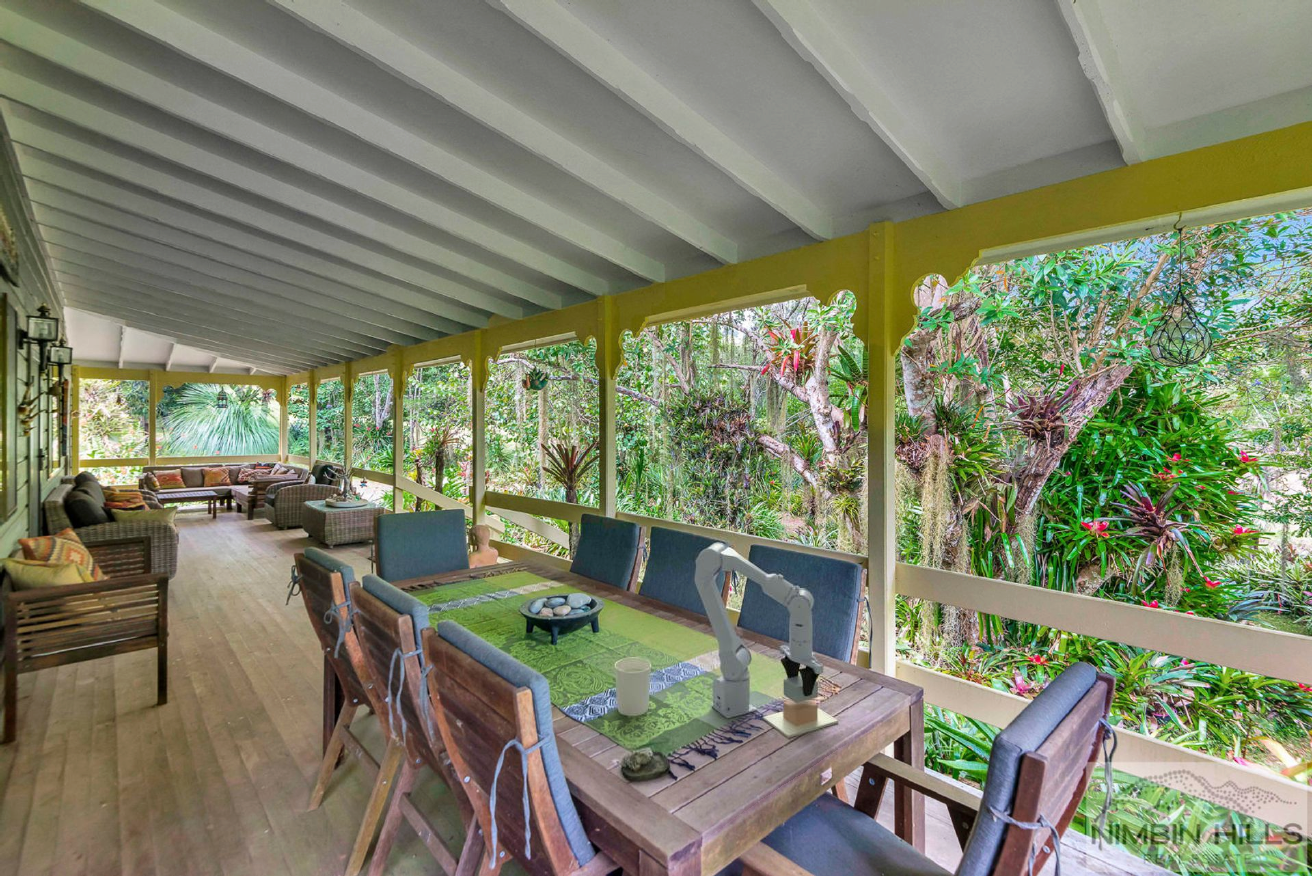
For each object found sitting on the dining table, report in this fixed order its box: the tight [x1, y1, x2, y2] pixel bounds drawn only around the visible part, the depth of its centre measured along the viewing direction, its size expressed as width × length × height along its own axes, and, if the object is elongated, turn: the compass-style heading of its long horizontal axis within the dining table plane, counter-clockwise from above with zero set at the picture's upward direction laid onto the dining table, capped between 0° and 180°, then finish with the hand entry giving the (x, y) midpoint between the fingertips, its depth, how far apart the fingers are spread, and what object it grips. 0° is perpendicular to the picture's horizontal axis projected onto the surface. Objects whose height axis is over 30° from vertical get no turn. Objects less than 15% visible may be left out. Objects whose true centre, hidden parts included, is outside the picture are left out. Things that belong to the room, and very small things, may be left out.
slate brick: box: [783, 674, 819, 703], centre depth 149 cm, size 7×5×4 cm
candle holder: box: [614, 656, 652, 717], centre depth 156 cm, size 10×10×12 cm
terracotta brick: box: [782, 699, 819, 726], centre depth 149 cm, size 7×5×4 cm
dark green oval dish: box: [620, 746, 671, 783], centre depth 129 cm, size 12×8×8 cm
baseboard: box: [762, 707, 839, 739], centre depth 149 cm, size 16×10×1 cm, turn 116°
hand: (800, 690), depth 149 cm, fingers closed on slate brick, 5 cm apart
